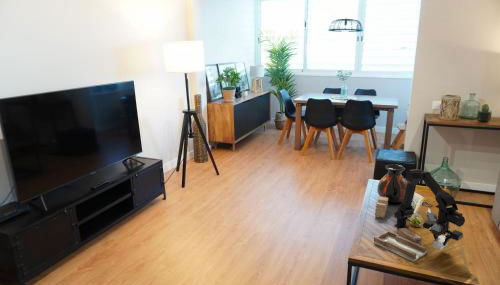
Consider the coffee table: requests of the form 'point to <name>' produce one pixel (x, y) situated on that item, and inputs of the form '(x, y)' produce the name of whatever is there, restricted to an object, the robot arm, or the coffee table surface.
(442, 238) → the white rectangular block
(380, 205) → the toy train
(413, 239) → the long tan block
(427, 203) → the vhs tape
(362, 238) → the coffee table surface
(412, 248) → the jig
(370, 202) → the coffee table surface
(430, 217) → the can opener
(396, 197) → the amphora vase
